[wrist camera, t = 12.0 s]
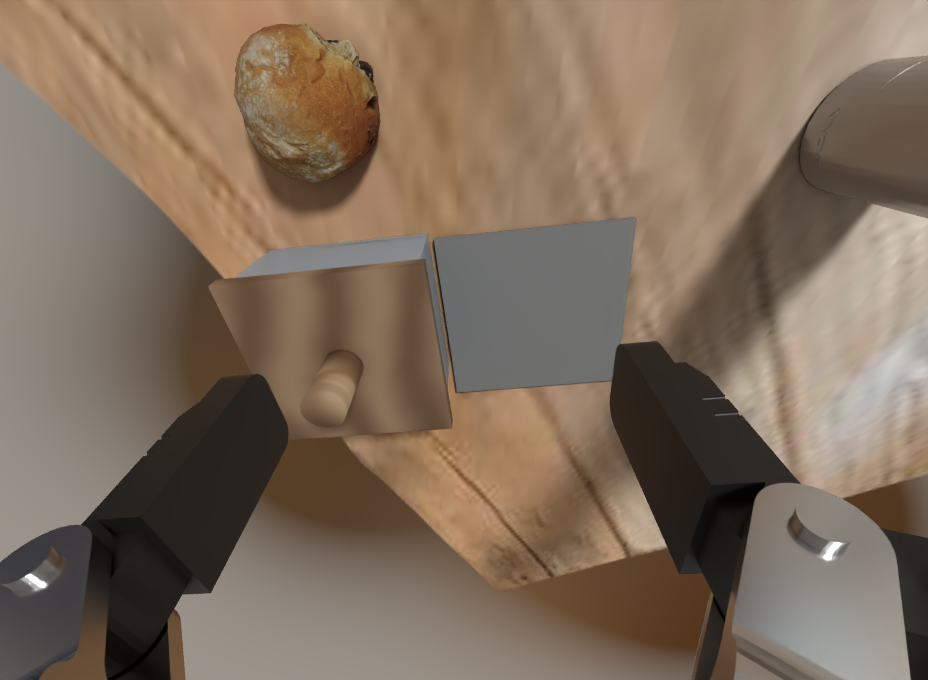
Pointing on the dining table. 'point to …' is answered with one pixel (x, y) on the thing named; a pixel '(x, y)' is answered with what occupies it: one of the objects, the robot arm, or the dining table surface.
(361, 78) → the bread roll
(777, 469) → the robot arm
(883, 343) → the dining table surface
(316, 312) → the lid
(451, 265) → the mat
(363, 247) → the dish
